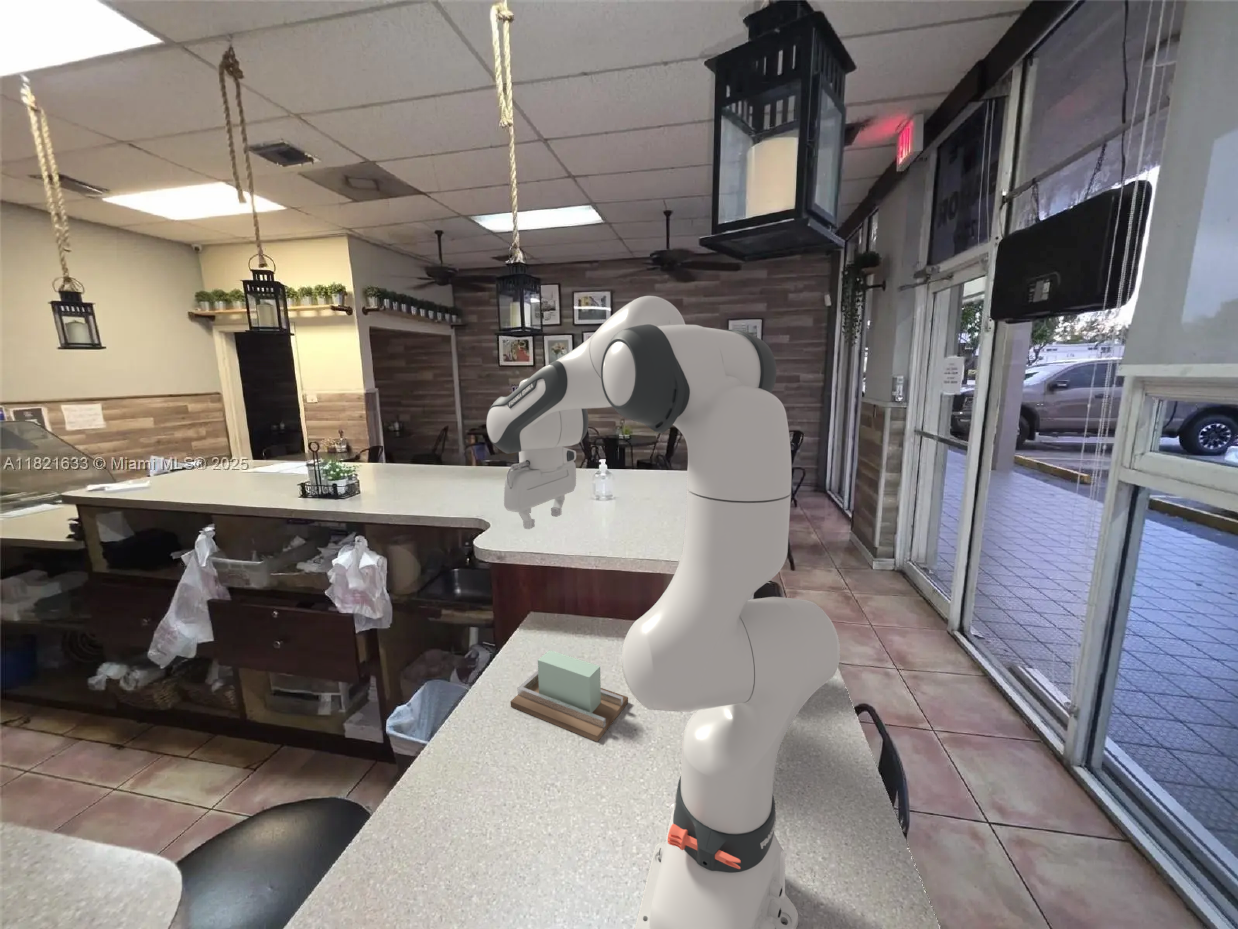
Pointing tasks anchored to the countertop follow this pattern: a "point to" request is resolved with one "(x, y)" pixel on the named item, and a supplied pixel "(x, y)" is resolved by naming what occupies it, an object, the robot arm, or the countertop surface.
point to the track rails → (567, 708)
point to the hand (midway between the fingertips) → (543, 521)
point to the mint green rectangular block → (570, 680)
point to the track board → (568, 721)
